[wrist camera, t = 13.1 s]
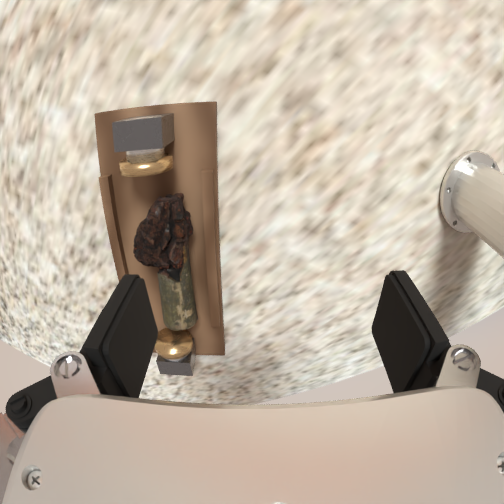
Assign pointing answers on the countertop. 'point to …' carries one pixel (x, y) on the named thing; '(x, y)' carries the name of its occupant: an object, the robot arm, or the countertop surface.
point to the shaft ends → (146, 164)
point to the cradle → (195, 201)
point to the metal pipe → (169, 258)
